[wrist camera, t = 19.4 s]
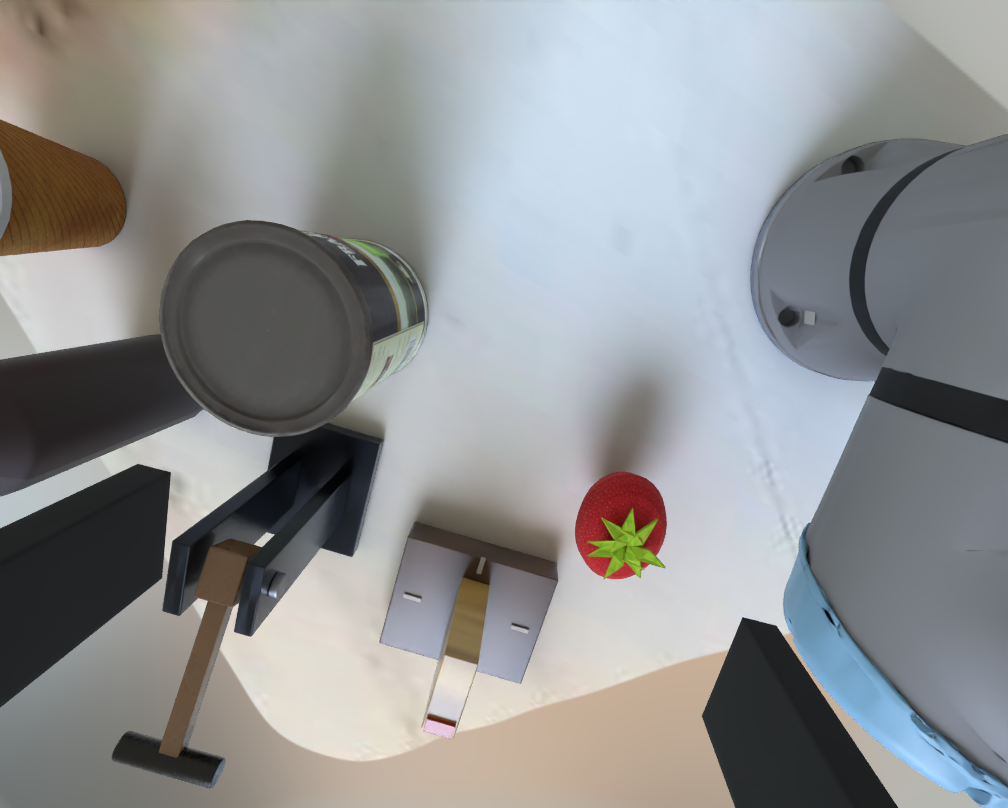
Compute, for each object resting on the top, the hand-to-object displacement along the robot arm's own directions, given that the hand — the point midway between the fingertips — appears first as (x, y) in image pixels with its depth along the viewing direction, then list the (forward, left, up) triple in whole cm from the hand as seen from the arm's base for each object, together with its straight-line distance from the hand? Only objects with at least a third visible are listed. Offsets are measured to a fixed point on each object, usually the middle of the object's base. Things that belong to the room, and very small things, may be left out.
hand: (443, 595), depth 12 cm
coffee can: (+12, -1, -28) cm, 31 cm away
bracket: (+12, +13, -28) cm, 33 cm away
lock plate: (-2, +19, -28) cm, 34 cm away
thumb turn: (-2, +19, -26) cm, 32 cm away
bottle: (+25, +8, -28) cm, 38 cm away
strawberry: (-10, +7, -28) cm, 31 cm away
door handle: (+12, +18, -15) cm, 26 cm away
